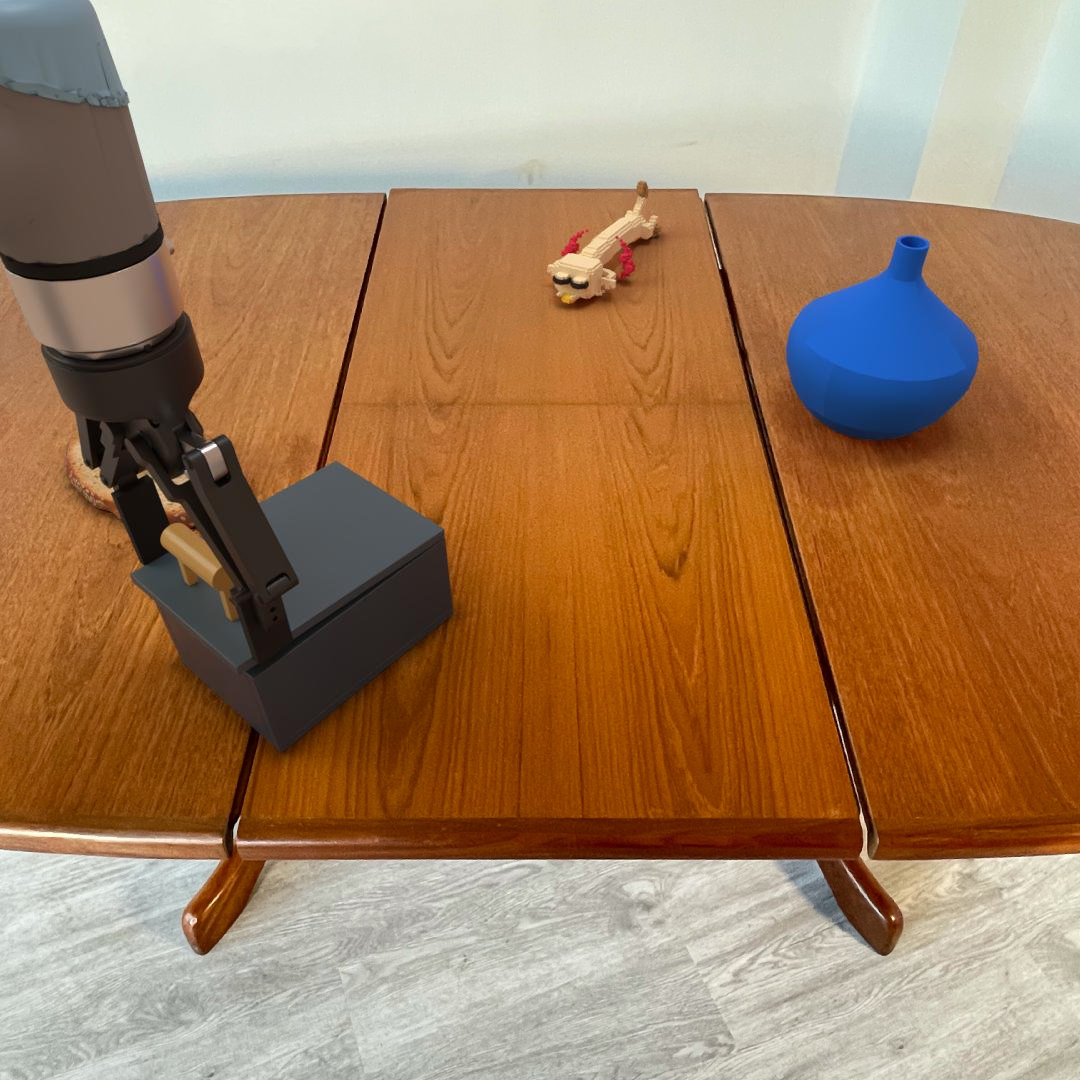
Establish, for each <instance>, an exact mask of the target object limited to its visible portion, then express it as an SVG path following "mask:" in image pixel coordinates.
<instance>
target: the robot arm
mask: <svg viewBox="0 0 1080 1080" xmlns="http://www.w3.org/2000/svg"><path fill="white" fill-rule="evenodd" d="M93 5H94V4H92V2H91V1H90V0H0V263H1V265H2V268H3V270H4V273H5V275H6V277H7V279H8V282H9V284H10V287H11V289H12V291H13V293H14V295H15V298H16V300H17V302H18V305H19V308H20V309H21V312H22V314H23V316H24V320H25V321H26V323H27V326H28V328H29V331H30V333H31V334H32V335H33V337H34V339H35V340H36V341H37V342H39V343H41V345H40V352H41V354H42V357H43V359H44V361H45V364H46V365H47V368H48V370H49V372H50V376H51V378H52V380H53V382H54V384H55V387H56V389H57V391H58V394H59V396H60V398H61V400H62V402H63V404H64V405H65V406H66V407H67V409H69V410H70V411H71V412H72V413H74V415H75V421H76V428H77V433H78V434H79V440H80V446H81V452H82V457H83V462H84V464H85V465H86V466H87V467H89V468H90V469H91V470H94V469H96V468H98V467H99V468H100V473H99V474H100V475H99V476H100V478H101V482H102V483H103V484H104V485H106V487H107V488H109V489H110V488H112V487H113V489H114V492H112V493H111V496H112V498H113V500H114V503H115V505H116V507H117V510H118V512H119V514H120V517H121V519H122V520H121V519H120V520H121V521H122V523H123V526H124V529H125V531H126V533H127V535H128V537H129V540H130V543H131V544H132V547H133V550H134V552H135V555H136V556H137V559H138V561H139V563H140V564H141V565H142V566H145V565H147V564H148V563H150V562H152V561H154V560H156V559H158V558H159V557H161V556H163V555H165V554H167V553H169V551H168V550H167V549H165V548H164V547H163V546H162V544H161V540H160V539H161V535H162V533H163V531H164V530H165V529H166V528H167V527H168V526H169V525H170V523H169V520H168V518H167V515H166V512H165V510H164V507H163V504H162V502H161V499H160V496H159V494H158V491H157V489H156V486H155V483H154V481H155V482H156V484H157V485H158V487H159V488H160V490H161V491H162V493H163V494H164V496H165V497H166V499H167V500H168V501H170V502H172V503H179V504H180V505H181V506H182V507H183V509H184V510H185V512H186V513H187V515H188V516H189V518H190V519H191V521H192V522H193V524H194V525H195V527H194V528H196V529H197V531H198V532H199V535H201V536H202V537H203V539H204V540H205V542H206V543H207V545H208V546H209V548H210V549H211V551H212V552H213V554H214V555H215V557H216V558H217V560H218V561H219V563H220V564H221V566H222V567H223V569H224V570H225V572H226V573H227V575H228V576H229V578H230V579H231V581H232V582H233V584H234V585H235V587H233V588H232V589H230V593H231V596H232V597H231V598H229V601H230V602H231V603H232V604H233V605H234V606H235V608H236V611H237V614H238V617H239V619H240V622H241V625H242V628H243V631H244V634H245V637H246V640H247V643H248V646H249V649H250V652H251V655H252V658H253V660H255V661H256V662H257V663H258V664H259V665H261V664H262V663H264V662H265V661H266V660H268V659H269V658H271V657H272V656H273V655H275V654H276V653H278V652H279V651H280V650H282V649H283V648H285V647H286V646H287V645H289V644H290V643H292V642H293V641H294V640H293V636H292V633H291V629H290V625H289V622H288V618H287V615H286V611H285V608H284V604H283V601H282V597H281V596H282V595H283V594H285V593H286V592H288V591H289V590H291V589H292V588H294V587H295V586H297V585H298V584H299V580H298V577H297V575H296V573H295V571H294V569H293V568H292V566H291V564H290V562H289V560H288V558H287V556H286V554H285V552H284V550H283V549H282V547H281V545H280V543H279V541H278V539H277V537H276V535H275V533H274V531H273V529H272V528H271V526H270V524H269V522H268V520H267V518H266V516H265V514H264V512H263V510H262V509H261V507H260V505H259V503H260V502H259V501H258V499H257V496H255V493H254V491H253V489H252V488H251V485H250V483H249V482H248V479H247V478H246V476H245V474H244V472H243V469H242V467H241V463H240V461H239V458H238V454H237V452H236V449H235V446H234V444H233V442H232V441H231V439H230V438H229V437H228V436H227V435H226V434H223V433H222V434H220V435H217V436H215V437H214V438H212V439H210V440H208V439H207V438H206V437H205V435H204V432H205V431H204V430H205V429H204V428H203V427H204V426H203V425H202V423H201V422H200V421H199V419H198V418H197V416H196V414H195V413H194V412H193V411H192V410H191V408H190V404H191V401H192V400H193V397H194V396H195V394H196V392H197V390H198V389H199V388H200V386H201V385H202V382H203V380H204V376H205V364H204V361H203V356H202V354H201V351H200V347H199V344H198V341H197V336H196V333H195V330H194V326H193V324H192V323H193V322H192V320H191V317H190V316H189V315H188V312H186V311H185V301H184V297H183V293H182V290H181V287H180V282H179V279H178V276H177V272H176V268H175V266H174V262H173V258H172V256H173V255H174V254H175V250H176V248H175V243H174V242H173V241H172V240H170V239H169V238H168V237H166V235H165V232H164V229H163V226H162V223H161V220H160V216H159V213H158V209H157V206H156V203H155V198H154V195H153V192H152V188H151V185H150V181H149V177H148V173H147V170H146V167H145V163H144V158H143V155H142V151H141V147H140V144H139V140H138V137H137V133H136V129H135V126H134V122H133V119H132V115H131V111H130V107H129V104H130V98H129V94H128V91H126V90H125V88H124V86H123V84H122V80H121V77H120V74H119V71H118V70H117V67H116V64H115V61H114V59H113V56H112V53H111V50H110V47H109V44H108V41H107V38H106V36H105V33H104V29H103V28H102V25H101V22H100V20H99V16H98V13H97V11H96V10H95V7H94V6H93ZM78 434H77V435H78ZM145 470H148V472H149V473H150V475H151V476H152V478H153V479H154V481H153V479H152V478H151V477H150V476H148V475H147V474H146V475H144V476H143V477H141V478H139V479H138V477H137V474H139V473H141V472H143V471H145ZM183 474H185V475H186V477H187V478H188V479H190V480H188V481H186V482H184V483H182V484H179V485H178V484H175V483H174V482H173V481H172V479H175V478H177V477H179V476H181V475H183Z"/></svg>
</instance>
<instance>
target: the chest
mask: <svg viewBox="0 0 1080 1080" xmlns="http://www.w3.org/2000/svg"><path fill="white" fill-rule="evenodd" d="M154 604H155V606H156V608H157V610H158V612H159V615H160V617H161V619H162V621H163V623H164V625H165V627H166V630H167V632H168V634H169V636H170V639H171V641H172V643H173V645H174V647H175V650H176V651H177V654H178V656H179V658H180V660H181V662H182V664H183V665H184V666H185V667H187V669H189V671H191V672H192V673H193V674H194V675H195V676H196V677H197V678H198V679H199V680H201V681H202V682H203V683H204V684H205V685H206V686H207V687H208V688H209V689H210V690H211V691H212V692H213V693H215V694H216V696H218V697H219V698H220V699H221V700H222V701H224V702H225V704H227V705H228V706H229V707H230V708H231V710H234V712H235V713H237V714H238V715H239V716H240V717H241V718H242V719H243V720H244V721H245V723H246V722H247V724H248V725H250V726H251V727H252V728H253V729H254V730H255V731H256V732H257V733H259V735H260V736H262V737H263V739H265V740H266V741H267V742H268V743H269V744H271V746H272V747H274V748H275V749H276V751H278V752H279V753H280V754H283V753H284V752H286V751H287V749H289V748H290V747H291V746H293V744H295V743H296V742H297V741H299V740H300V739H301V738H302V737H303V736H305V735H306V734H307V733H309V732H310V731H311V730H312V729H313V728H315V727H316V726H317V725H318V724H319V723H320V722H322V721H323V720H325V719H326V718H327V717H328V716H329V715H331V714H333V712H335V711H336V710H337V709H339V708H340V707H341V705H343V704H345V702H347V701H348V700H349V699H350V698H352V697H353V696H354V695H355V694H357V693H358V692H359V691H361V689H363V688H364V687H365V686H367V685H368V684H369V683H370V682H372V680H374V679H375V678H377V677H378V676H379V675H380V674H381V673H382V672H384V671H385V670H386V669H387V668H389V667H390V666H391V665H393V664H394V663H395V662H396V661H398V659H400V658H401V657H402V656H403V655H405V654H406V653H407V652H409V650H411V649H412V648H413V647H415V646H416V645H417V644H418V643H419V642H421V641H422V640H423V639H425V638H426V637H427V636H428V635H430V634H431V633H432V632H433V631H434V630H436V629H437V628H438V627H439V626H441V625H442V624H443V623H444V622H446V621H447V620H448V619H449V618H451V617H452V616H453V615H454V608H453V607H454V606H453V597H452V587H451V579H450V571H449V559H448V551H447V542H446V536H445V537H444V538H443V539H441V540H440V541H438V542H437V543H435V544H434V545H432V546H431V547H429V548H428V549H427V550H425V551H424V552H422V553H421V554H419V555H418V556H416V557H415V558H413V559H412V560H410V561H409V562H407V563H406V564H404V565H403V566H401V567H400V568H398V569H397V570H395V571H394V572H392V573H391V574H389V575H388V576H386V577H385V578H384V579H382V580H381V581H379V582H378V583H376V584H375V585H373V586H372V587H370V588H369V589H367V590H366V591H364V592H363V593H361V594H360V595H358V596H357V597H355V598H354V599H352V600H351V601H349V602H348V603H346V604H345V605H343V606H342V607H341V608H339V609H338V610H336V611H335V612H333V613H332V614H330V615H329V616H327V617H326V618H324V619H323V620H321V621H320V622H318V623H317V624H315V625H314V626H312V627H311V628H309V629H308V630H306V631H305V632H303V633H302V634H300V635H299V636H298V637H296V638H295V639H293V640H294V641H293V642H292V643H290V644H289V645H287V646H286V647H285V648H283V649H282V650H280V651H279V652H278V653H276V654H275V655H273V656H272V657H271V658H269V659H268V660H266V661H265V662H264V663H262V664H261V665H259V664H258V663H257V664H256V665H255V666H253V667H252V668H250V669H249V670H247V671H246V672H244V673H243V674H241V675H240V676H238V675H237V674H236V673H235V672H234V671H233V670H232V669H231V668H229V667H228V666H227V665H226V664H225V663H224V662H223V661H221V660H220V659H219V658H218V657H217V656H216V655H215V654H214V653H212V652H211V651H210V650H209V649H208V648H207V647H206V646H204V645H203V644H202V643H201V642H200V641H199V640H198V639H197V638H195V637H194V636H193V635H192V634H191V633H190V632H189V631H187V630H186V629H185V628H184V627H183V626H182V625H181V624H180V623H178V622H177V621H176V620H175V619H174V618H173V617H172V616H170V615H169V614H168V613H167V612H166V611H165V610H164V609H163V608H161V607H160V606H159V605H158V604H157V603H156V602H155V601H154Z"/></svg>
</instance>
